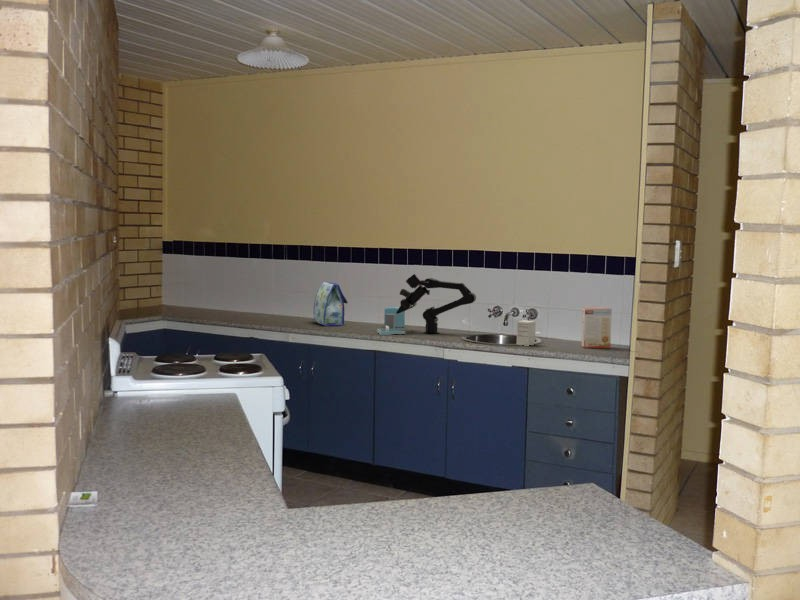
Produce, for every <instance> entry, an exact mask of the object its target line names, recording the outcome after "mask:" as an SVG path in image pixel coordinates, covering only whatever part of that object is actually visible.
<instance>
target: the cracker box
mask: <svg viewBox="0 0 800 600" xmlns="http://www.w3.org/2000/svg"><path fill="white" fill-rule="evenodd" d="M581 312H582V313H581V314H582V315H581V317H582V318H581V348H582V349H583V348H584V349H611V343H612V342H611V341H612V340H611V339H612V337H611V336H612V308H611V307H597V306H596V307H595V306H594V307H593V306H591V307H590V306H589V307H586V306H585V307H582V311H581Z"/></svg>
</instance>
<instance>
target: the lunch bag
mask: <svg viewBox="0 0 800 600" xmlns="http://www.w3.org/2000/svg"><path fill="white" fill-rule="evenodd" d="M341 289H342V288H341V287H340V285H339V284H338V283H335V282H330V281H329V282H328V281H323V282H322V284H321V285H320V287H319V288H318V290H317V292H316V295H315V299H314V305H313V322H314V323H317V324H320V325H322V326H324V327H329V326H339V325H343V326H344V325H345V304H348V300H347V298H346V297H345V296H344V294H343V291H342V290H341Z"/></svg>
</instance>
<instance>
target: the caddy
mask: <svg viewBox="0 0 800 600" xmlns="http://www.w3.org/2000/svg"><path fill="white" fill-rule="evenodd" d="M376 333H377V334H378V333H379V334H378V335H380V336H391V335H390V334H405V335H406V330H402V328H395V329H389V326H386V329H385V328H376Z"/></svg>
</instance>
